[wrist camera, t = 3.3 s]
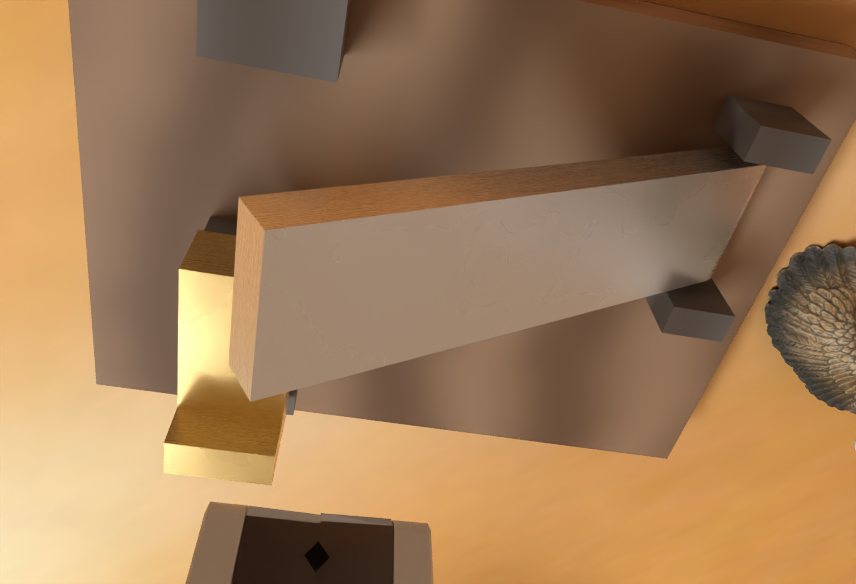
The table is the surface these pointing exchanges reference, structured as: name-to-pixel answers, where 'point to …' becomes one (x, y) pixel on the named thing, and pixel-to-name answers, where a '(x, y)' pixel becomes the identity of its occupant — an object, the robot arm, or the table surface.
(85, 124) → the base
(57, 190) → the table surface
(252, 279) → the bar
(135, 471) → the table surface
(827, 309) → the eagle figurine
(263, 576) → the robot arm
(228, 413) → the brass bolt
